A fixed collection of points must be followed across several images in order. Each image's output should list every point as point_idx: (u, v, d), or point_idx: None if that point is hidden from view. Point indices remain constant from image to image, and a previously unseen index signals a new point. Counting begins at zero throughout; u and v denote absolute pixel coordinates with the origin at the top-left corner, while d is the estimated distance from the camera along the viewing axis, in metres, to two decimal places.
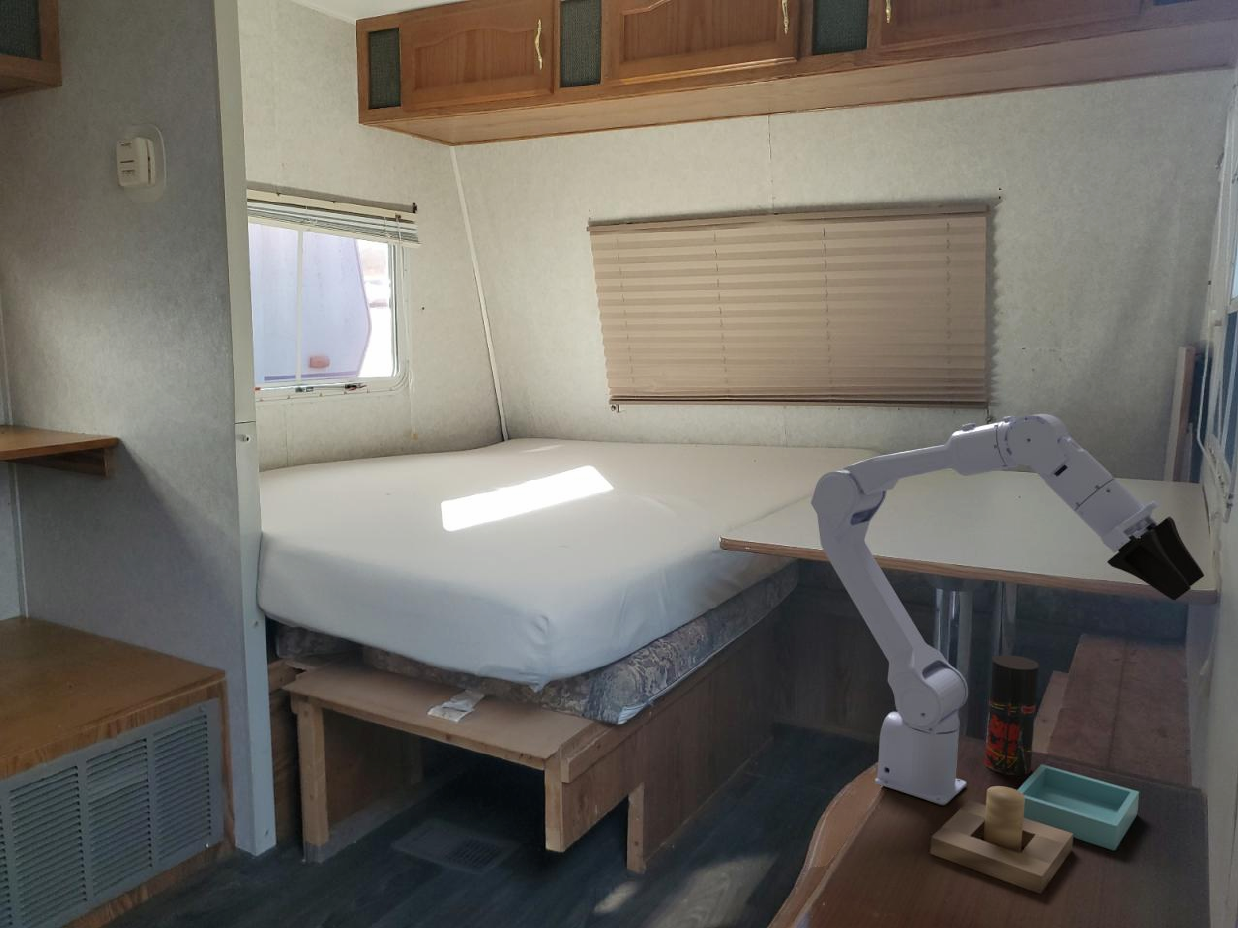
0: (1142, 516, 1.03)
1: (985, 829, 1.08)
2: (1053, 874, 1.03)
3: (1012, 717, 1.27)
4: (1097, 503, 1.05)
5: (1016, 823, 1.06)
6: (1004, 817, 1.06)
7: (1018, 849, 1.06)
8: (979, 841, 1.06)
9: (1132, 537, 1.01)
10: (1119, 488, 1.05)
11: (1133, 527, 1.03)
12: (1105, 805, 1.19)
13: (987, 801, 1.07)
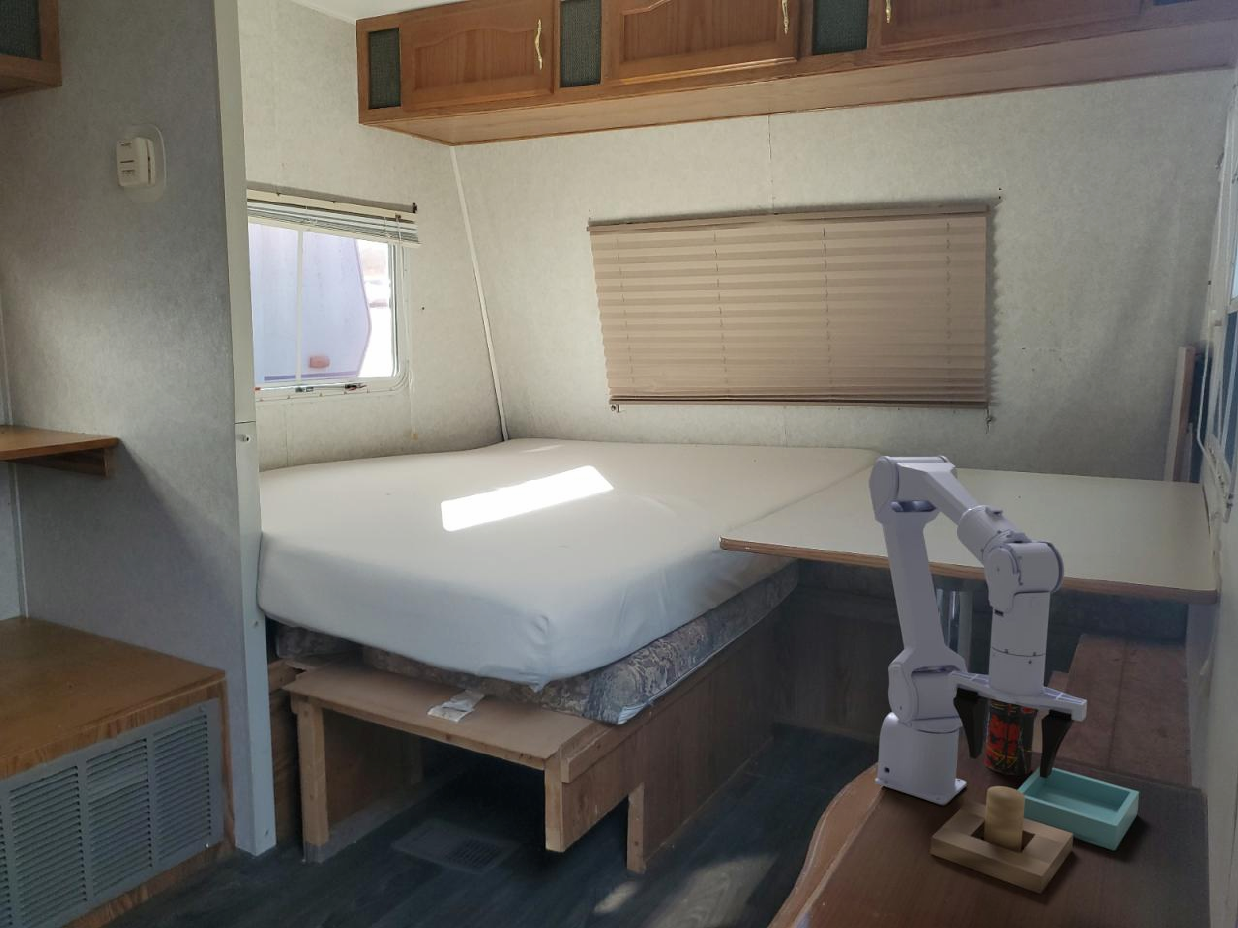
0: (989, 693, 1.05)
1: (985, 829, 1.08)
2: (1053, 874, 1.03)
3: (1011, 717, 1.27)
4: None
5: (1016, 823, 1.06)
6: (1004, 817, 1.06)
7: (1018, 849, 1.06)
8: (979, 841, 1.06)
9: (969, 693, 1.08)
10: (1001, 662, 1.04)
11: None
12: (1105, 805, 1.19)
13: (987, 801, 1.07)
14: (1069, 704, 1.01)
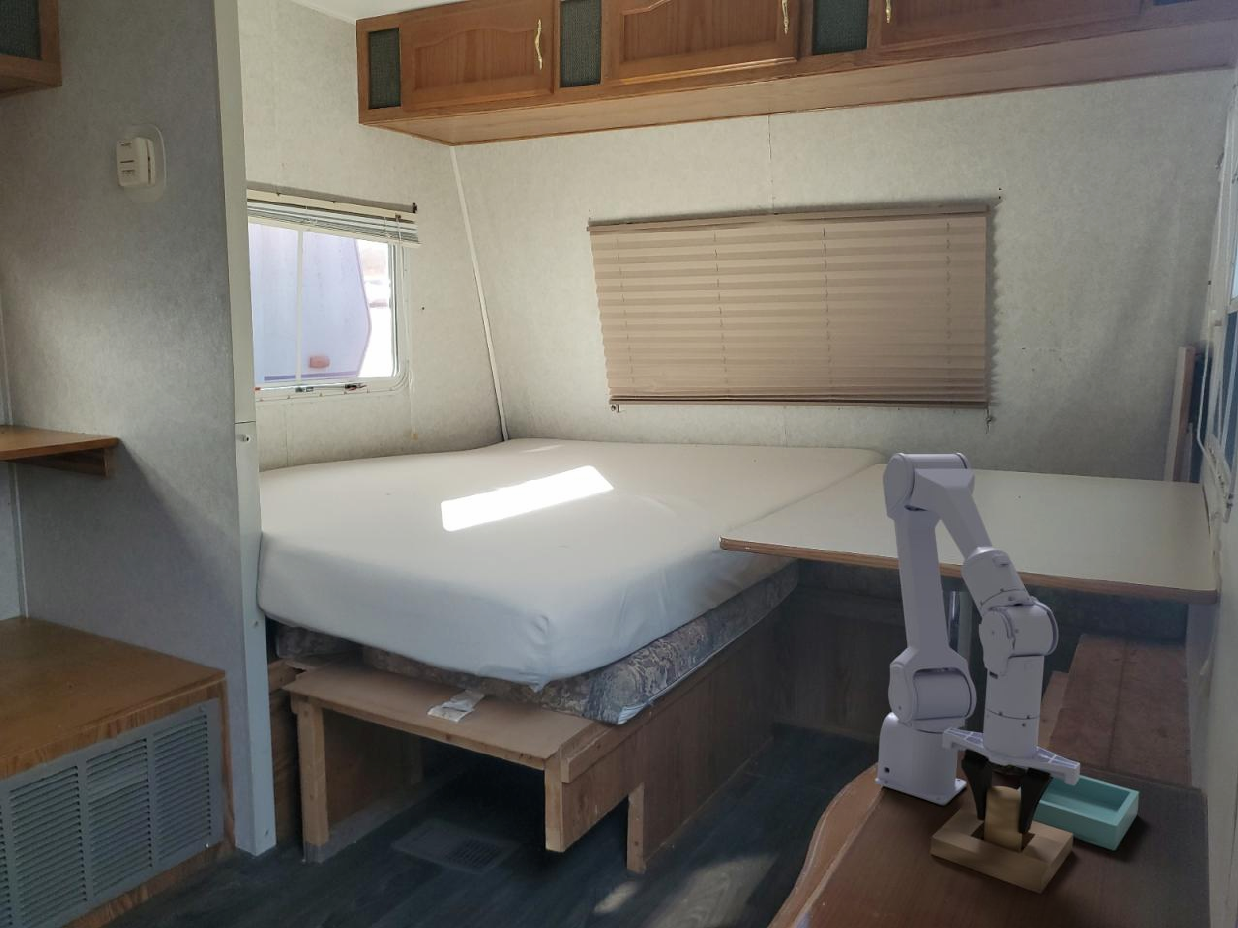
0: (983, 753, 1.06)
1: (985, 829, 1.08)
2: (1053, 874, 1.03)
3: None
4: None
5: (1016, 823, 1.06)
6: (1004, 817, 1.06)
7: (1018, 849, 1.06)
8: (979, 841, 1.06)
9: None
10: (995, 724, 1.05)
11: None
12: (1105, 805, 1.19)
13: (987, 801, 1.07)
14: (1062, 767, 1.02)
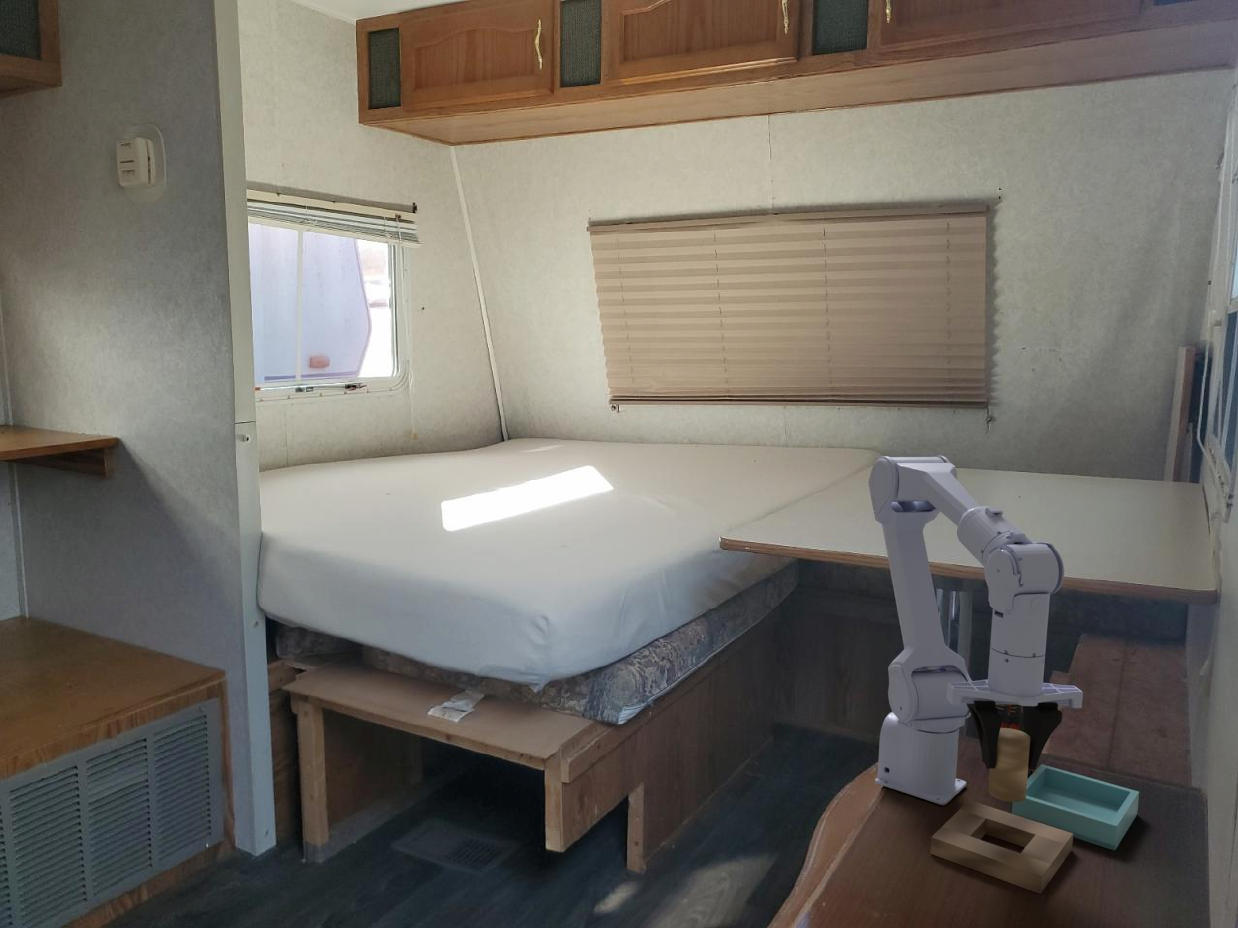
0: (1005, 700, 1.03)
1: (997, 775, 1.06)
2: (1053, 874, 1.03)
3: (1011, 717, 1.27)
4: (992, 658, 1.05)
5: (1028, 760, 1.06)
6: (1021, 758, 1.05)
7: None
8: (979, 841, 1.06)
9: (974, 704, 1.05)
10: (1018, 667, 1.03)
11: None
12: (1105, 805, 1.19)
13: (999, 747, 1.05)
14: (1072, 694, 1.05)
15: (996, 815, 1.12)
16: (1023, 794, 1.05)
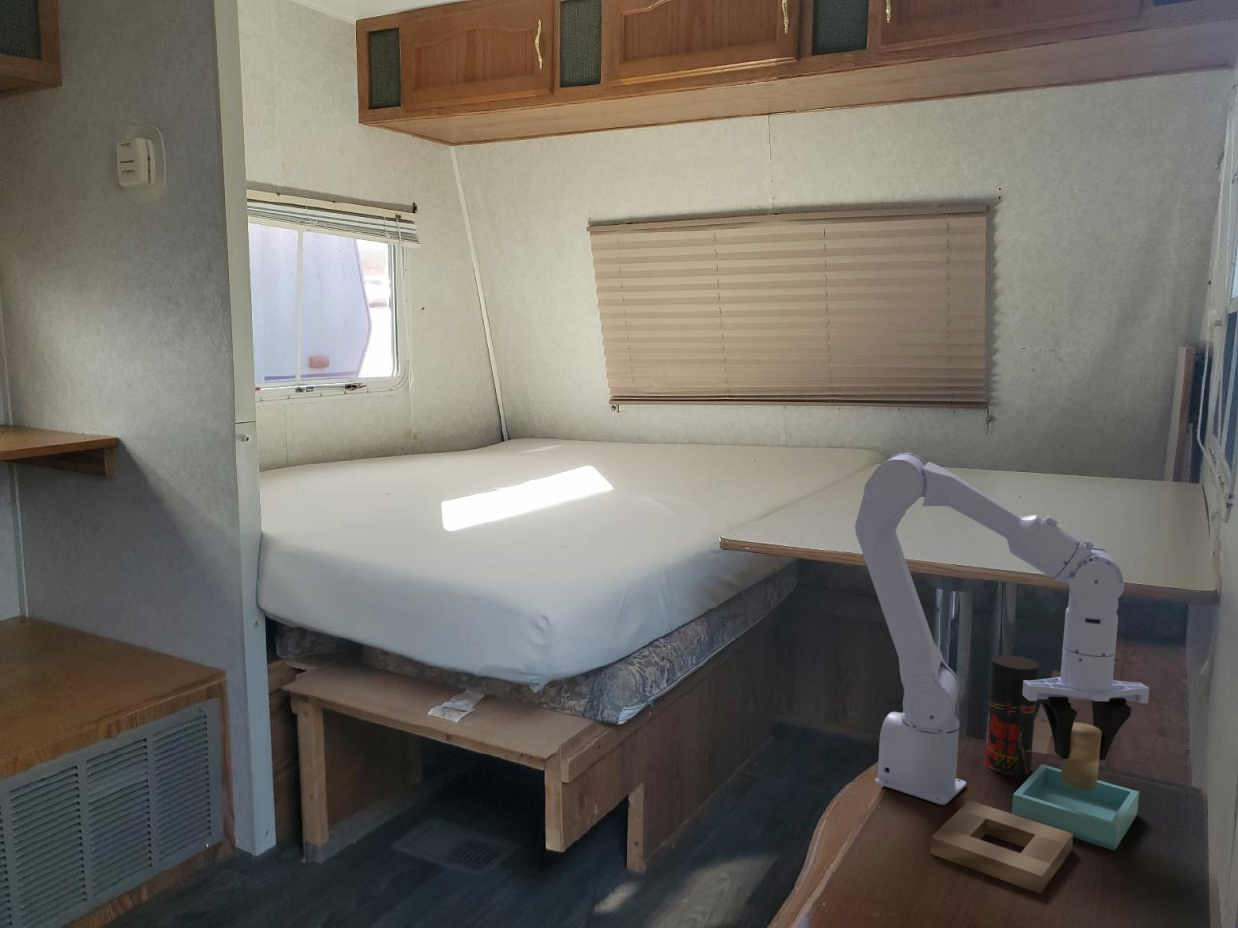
0: (1078, 696, 1.12)
1: (1070, 766, 1.15)
2: (1053, 874, 1.03)
3: (1012, 717, 1.27)
4: (1066, 658, 1.14)
5: (1099, 752, 1.14)
6: (1093, 750, 1.14)
7: None
8: (979, 841, 1.06)
9: (1049, 699, 1.14)
10: (1091, 665, 1.12)
11: None
12: (1105, 805, 1.19)
13: (1072, 739, 1.14)
14: (1139, 690, 1.14)
15: (996, 815, 1.12)
16: (1094, 783, 1.14)
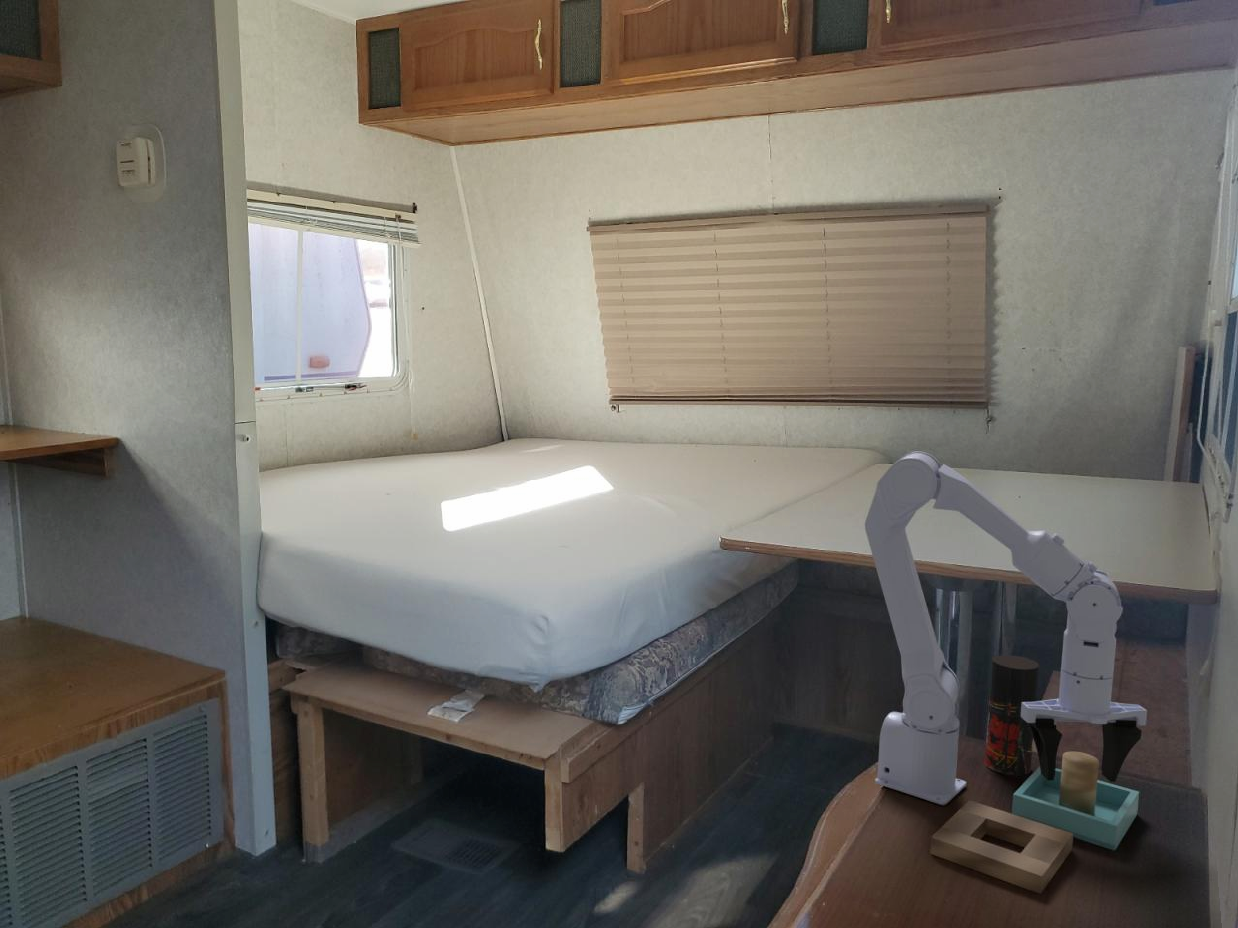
0: (1076, 718, 1.13)
1: (1068, 795, 1.15)
2: (1053, 874, 1.03)
3: (1011, 717, 1.27)
4: (1064, 680, 1.14)
5: (1096, 782, 1.15)
6: (1090, 780, 1.14)
7: None
8: (979, 841, 1.06)
9: (1047, 721, 1.15)
10: (1089, 688, 1.12)
11: None
12: (1105, 805, 1.19)
13: (1070, 769, 1.15)
14: (1137, 712, 1.14)
15: (996, 815, 1.12)
16: (1091, 813, 1.15)
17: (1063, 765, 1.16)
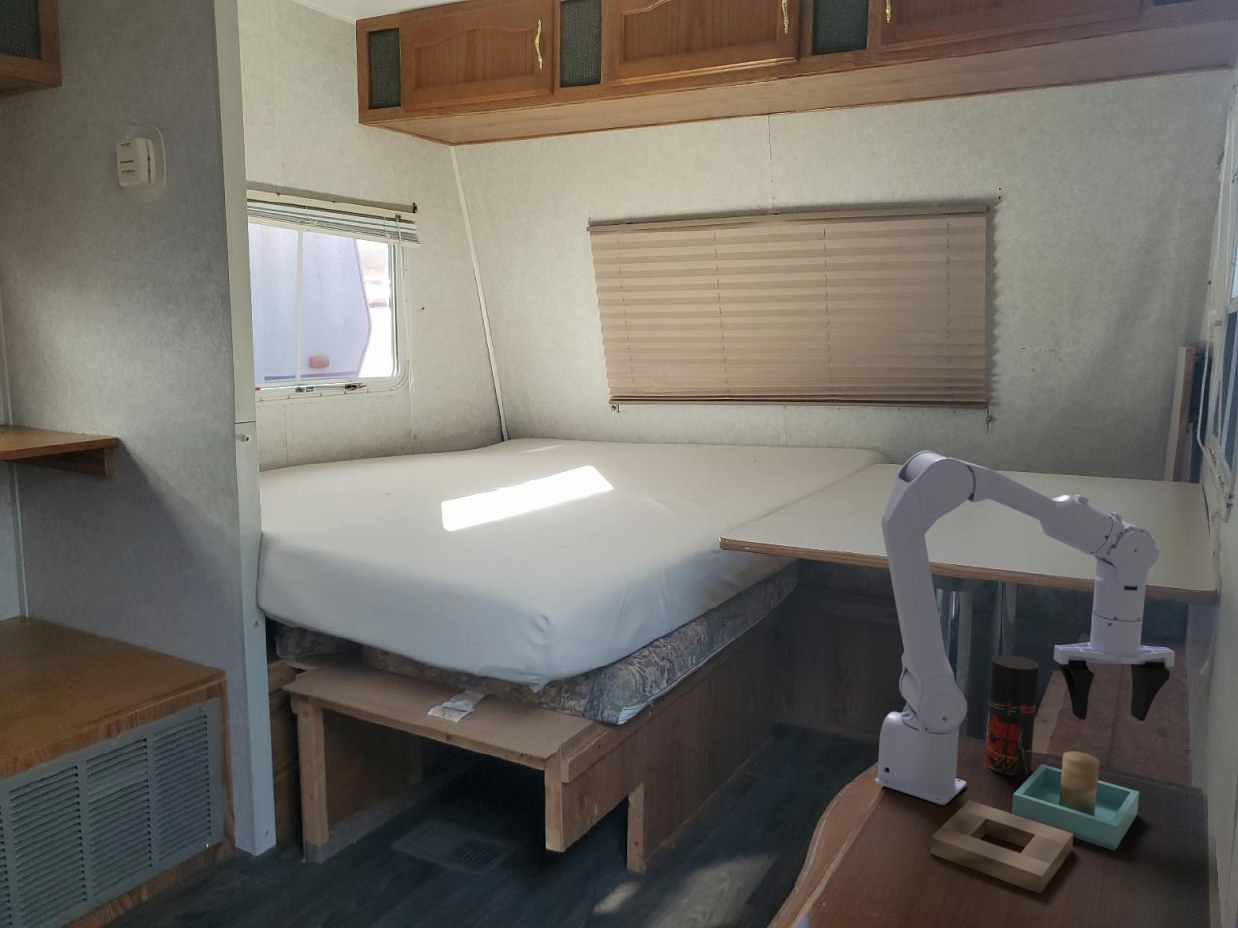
0: (1108, 659, 1.18)
1: (1068, 795, 1.15)
2: (1053, 874, 1.03)
3: (1011, 717, 1.27)
4: (1095, 623, 1.20)
5: None
6: (1091, 780, 1.14)
7: None
8: (979, 841, 1.06)
9: (1079, 663, 1.20)
10: (1120, 630, 1.18)
11: None
12: (1105, 805, 1.19)
13: (1070, 769, 1.15)
14: (1165, 654, 1.20)
15: (996, 815, 1.12)
16: (1091, 813, 1.15)
17: (1063, 765, 1.16)
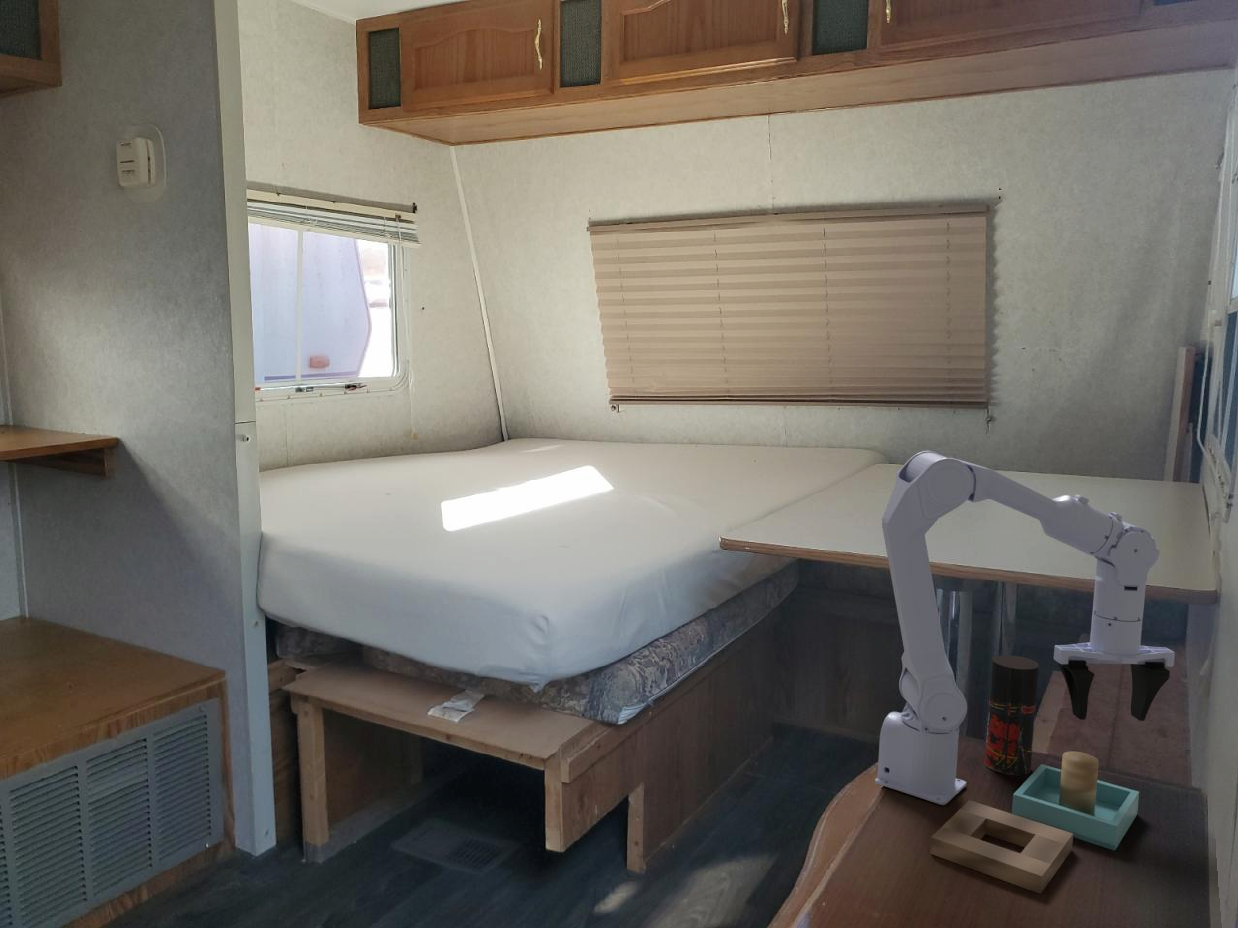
0: (1108, 659, 1.18)
1: (1068, 795, 1.15)
2: (1053, 874, 1.03)
3: (1012, 717, 1.27)
4: (1095, 623, 1.20)
5: (1096, 782, 1.15)
6: (1090, 780, 1.14)
7: None
8: (979, 841, 1.06)
9: (1079, 663, 1.20)
10: (1120, 630, 1.18)
11: None
12: (1105, 805, 1.19)
13: (1070, 769, 1.15)
14: (1165, 654, 1.20)
15: (996, 815, 1.12)
16: (1091, 813, 1.15)
17: (1063, 765, 1.16)
